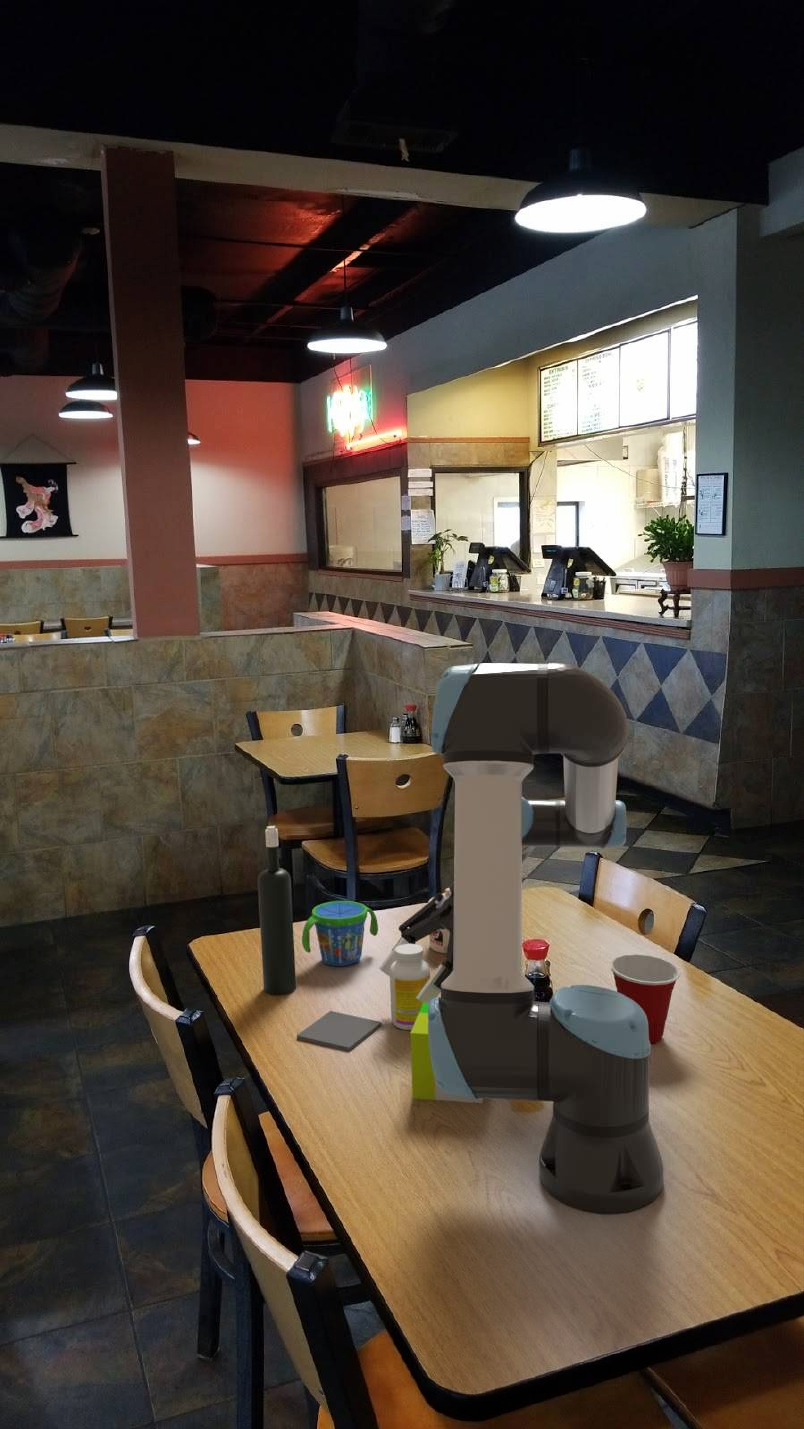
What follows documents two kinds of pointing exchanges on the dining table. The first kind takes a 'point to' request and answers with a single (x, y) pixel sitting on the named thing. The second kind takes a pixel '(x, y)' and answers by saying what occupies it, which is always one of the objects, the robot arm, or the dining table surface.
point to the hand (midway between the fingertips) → (402, 987)
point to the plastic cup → (647, 987)
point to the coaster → (339, 1030)
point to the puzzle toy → (427, 1064)
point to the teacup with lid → (440, 933)
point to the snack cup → (339, 931)
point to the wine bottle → (276, 922)
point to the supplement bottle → (407, 984)
